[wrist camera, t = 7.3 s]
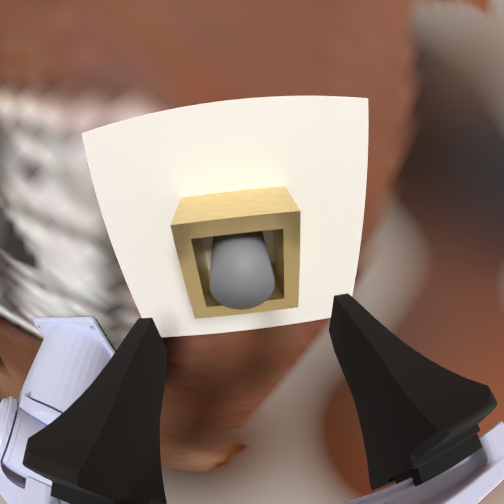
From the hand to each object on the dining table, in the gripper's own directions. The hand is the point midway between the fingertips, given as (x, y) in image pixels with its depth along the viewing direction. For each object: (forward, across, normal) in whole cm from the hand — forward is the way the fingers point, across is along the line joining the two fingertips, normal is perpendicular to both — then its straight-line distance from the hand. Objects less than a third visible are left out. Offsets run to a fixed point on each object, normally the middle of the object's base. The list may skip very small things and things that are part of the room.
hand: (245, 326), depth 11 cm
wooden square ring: (+7, 0, 0) cm, 7 cm away
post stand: (+8, 0, 0) cm, 8 cm away
